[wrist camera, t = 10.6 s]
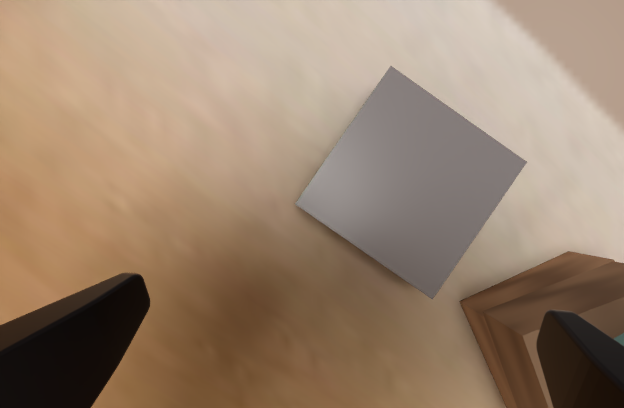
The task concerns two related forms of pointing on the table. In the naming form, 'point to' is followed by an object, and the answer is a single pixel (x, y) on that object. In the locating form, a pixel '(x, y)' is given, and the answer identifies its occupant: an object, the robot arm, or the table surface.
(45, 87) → the table surface
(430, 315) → the table surface
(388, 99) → the grey flat square block
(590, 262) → the tower lower
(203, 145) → the table surface
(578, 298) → the tower upper
